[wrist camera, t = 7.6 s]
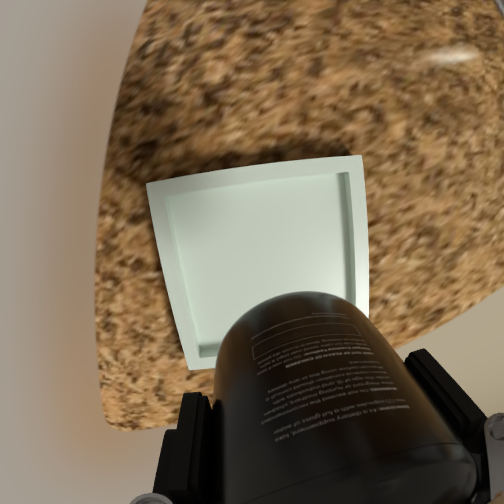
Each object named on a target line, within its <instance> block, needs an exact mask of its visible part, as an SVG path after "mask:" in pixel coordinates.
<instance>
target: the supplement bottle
mask: <svg viewBox="0 0 504 504" xmlns="http://www.w3.org/2000/svg"><path fill="white" fill-rule="evenodd" d="M478 485H479V471H478V466H477V463H476V461H475V459H474V457H473V455H472V454H471V452H470V451H469V450H468V447H467V446H466V445H465V443H464V442H463V440H462V439H461V437H460V436H459V435H458V433H457V432H456V430H455V429H454V428H453V426H452V425H451V424H450V422H449V421H448V419H447V418H446V417H445V415H444V414H443V413H442V411H441V410H440V409H439V407H438V406H437V405H436V403H435V402H434V401H433V399H432V398H431V397H430V395H429V394H428V393H427V391H426V390H425V389H424V387H423V386H422V385H421V383H420V382H419V381H418V380H417V378H416V377H415V376H414V374H413V373H412V372H411V371H410V369H409V368H408V367H407V365H406V364H405V363H404V362H403V360H402V359H401V358H400V357H399V356H398V354H397V353H396V352H395V350H394V349H393V348H392V347H391V345H390V344H389V343H388V342H387V340H386V339H385V338H384V337H383V335H382V334H381V333H380V332H379V331H378V329H377V328H376V327H375V326H374V325H373V323H372V322H371V321H370V320H369V319H368V318H367V317H366V315H365V314H364V313H363V312H362V311H361V310H360V309H358V308H357V307H356V306H355V305H353V304H352V303H351V302H349V301H347V300H345V299H343V298H341V297H338V296H336V295H332V294H329V293H324V292H317V291H299V292H291V293H286V294H282V295H279V296H275V297H273V298H270V299H268V300H265V301H263V302H261V303H259V304H258V305H256V306H254V307H253V308H251V309H250V310H248V311H247V312H246V313H244V314H243V315H242V316H241V317H240V318H239V319H238V320H237V321H236V322H235V323H234V324H233V325H232V326H231V328H230V329H229V330H228V332H227V333H226V335H225V336H224V338H223V340H222V342H221V344H220V347H219V350H218V353H217V358H216V364H215V374H214V388H213V404H212V421H211V440H210V461H209V486H208V504H473V503H474V501H475V498H476V495H477V492H478Z"/></svg>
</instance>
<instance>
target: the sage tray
mask: <svg viewBox="0 0 504 504" xmlns="http://www.w3.org/2000/svg"><path fill="white" fill-rule="evenodd" d="M146 187H147V193H148V199H149V205H150V211H151V216H152V221H153V227H154V232H155V237H156V242H157V246H158V251H159V256H160V260H161V265H162V269H163V274H164V278H165V283H166V287H167V291H168V295H169V299H170V303H171V307H172V311H173V315H174V319H175V322H176V326H177V330H178V334H179V337H180V341H181V344H182V348H183V351H184V355H185V358H186V361H187V365H188V368H189V370H196V369H207V368H215V364H216V358H217V353H218V350H219V347H220V344H221V342H222V340H223V338H224V336H225V335H226V333H227V332H228V330H229V329H230V328H231V326H232V325H233V324H234V323H235V322H236V321H237V320H238V319H239V318H240V317H241V316H242V315H243V314H244V313H246V312H247V311H248V310H250V309H251V308H253V307H254V306H256V305H258V304H259V303H261V302H263V301H265V300H268V299H270V298H273V297H275V296H279V295H282V294H286V293H291V292H299V291H317V292H324V293H329V294H332V295H336V296H338V297H341V298H343V299H345V300H347V301H349V302H351V303H352V304H353V305H355V306H356V307H357V308H358V309H360V310H361V311H362V312H363V313H364V314H365V315H366V317H367V318H368V314H369V251H368V226H367V209H366V195H365V183H364V172H363V162H362V155H354V156H340V157H327V158H315V159H304V160H294V161H285V162H276V163H268V164H260V165H252V166H245V167H238V168H231V169H224V170H218V171H211V172H205V173H199V174H193V175H187V176H182V177H176V178H171V179H166V180H161V181H156V182H151V183H146Z"/></svg>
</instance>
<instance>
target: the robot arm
mask: <svg viewBox="0 0 504 504" xmlns="http://www.w3.org/2000/svg"><path fill="white" fill-rule="evenodd" d="M404 363H405V364H406V365H407V367H408V368H409V369H410V371H411V372H412V373H413V374H414V376H415V377H416V378H417V380H418V381H419V382H420V383H421V385H422V386H423V387H424V389H425V390H426V391H427V393H428V394H429V395H430V397H431V398H432V399H433V401H434V402H435V403H436V405H437V406H438V407H439V409H440V410H441V411H442V413H443V414H444V415H445V417H446V418H447V419H448V421H449V422H450V424H451V425H452V426H453V428H454V429H455V430H456V432H457V433H458V435H459V436H460V437H461V439H462V440H463V442H464V443H465V445H466V446H467V447H468V450H469V451H470V452H471V454H472V455H473V457H474V459H475V461H476V463H477V466H478V471H479V485H478V492H477V495H476V498H475V501H474V503H473V504H504V413H497V414H493V415H492V416H491V417H489V418H487V417H486V416H485V414H484V413H483V412H482V411H481V410H480V409H479V407H478V406H477V405H476V404H475V403H474V402H473V401H472V400H471V398H470V397H469V396H468V395H467V394H466V393H465V391H464V390H463V389H462V388H461V387H460V386H459V385H458V384H457V383H456V381H455V380H454V379H453V378H452V377H451V376H450V375H449V374H448V373H447V372H446V371H445V369H444V368H443V367H442V366H441V365H440V364H439V363H438V362H437V361H436V360H435V359H434V358H433V357H432V355H431V354H430V353H429V352H428V351H427V350H426V349H420V350H417V351H414V352H411V353H409V355H408V357H407V358H406V359H405V362H404ZM211 421H212V409H211V406H210V403H209V400H208V397H207V396H202V394H201V392H192V393H184V394H183V398H182V403H181V408H180V413H179V418H178V424H177V429H168V430H166V432H165V435H164V439H163V443H162V448H161V452H160V457H159V463H158V467H157V472H156V477H155V481H154V487H153V492H152V493H148V494H143V495H140V496H138V497H136V498H135V499H134V500H132V501H131V503H130V504H208V486H209V461H210V440H211Z"/></svg>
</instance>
